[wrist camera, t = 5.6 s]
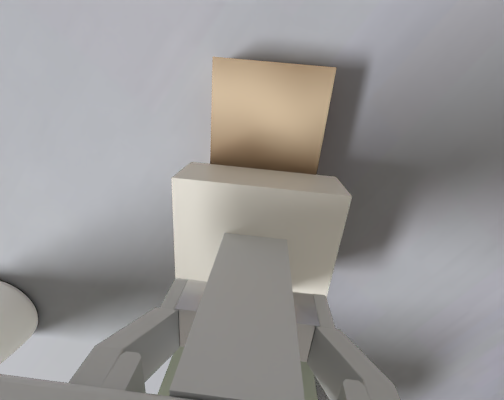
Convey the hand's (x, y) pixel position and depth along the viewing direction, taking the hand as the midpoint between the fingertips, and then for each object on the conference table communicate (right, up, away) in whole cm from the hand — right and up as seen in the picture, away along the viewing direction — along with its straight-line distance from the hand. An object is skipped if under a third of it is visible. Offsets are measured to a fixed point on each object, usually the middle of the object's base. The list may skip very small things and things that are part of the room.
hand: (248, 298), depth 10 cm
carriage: (0, +2, +5) cm, 5 cm away
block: (0, +1, +8) cm, 8 cm away
